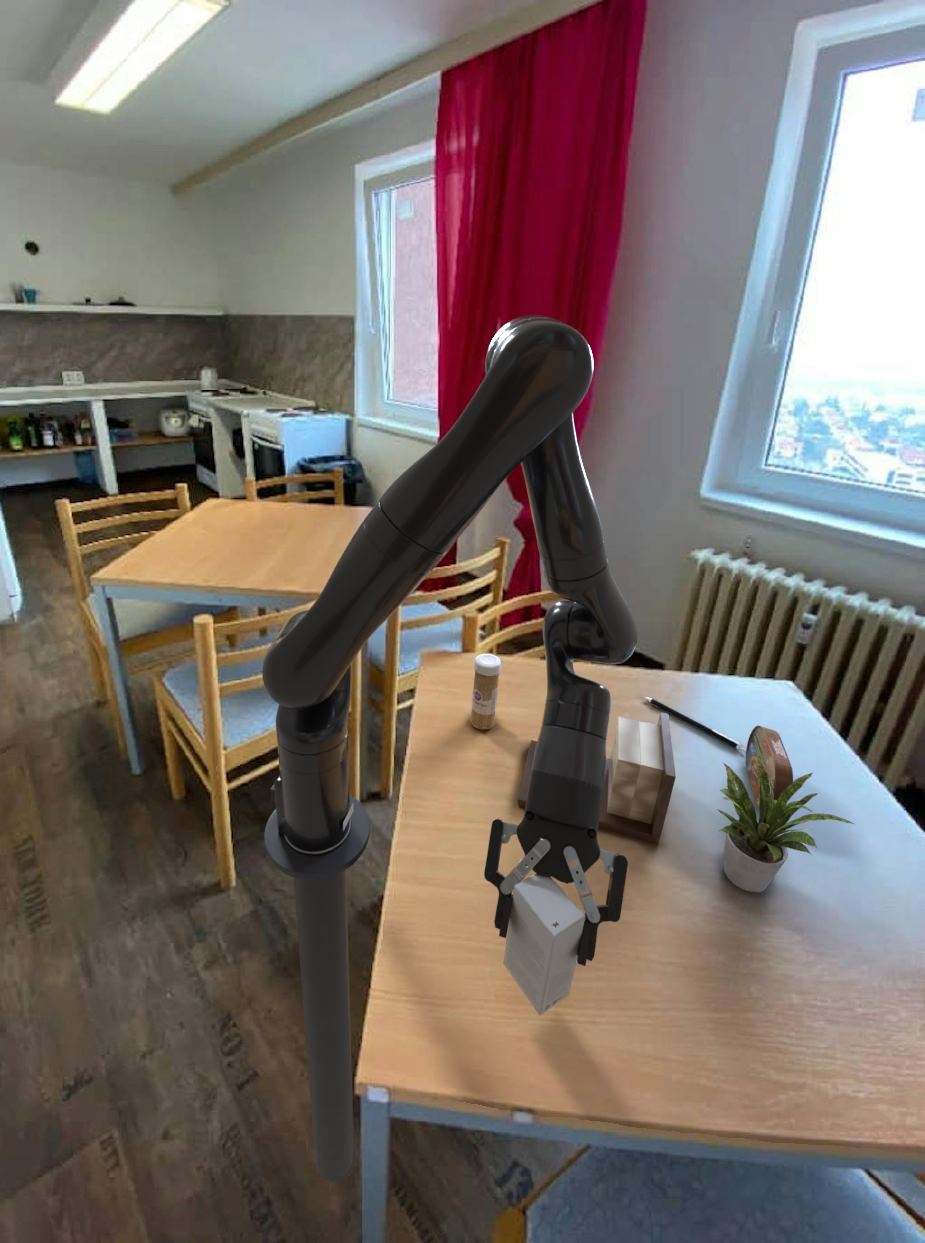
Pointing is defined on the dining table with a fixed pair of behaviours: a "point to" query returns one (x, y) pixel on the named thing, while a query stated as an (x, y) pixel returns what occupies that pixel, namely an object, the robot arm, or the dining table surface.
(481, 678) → the sprinkles bottle
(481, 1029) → the dining table surface
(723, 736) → the pen
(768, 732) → the tin
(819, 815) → the house plant
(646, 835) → the book rack
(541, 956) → the cosmetic box
